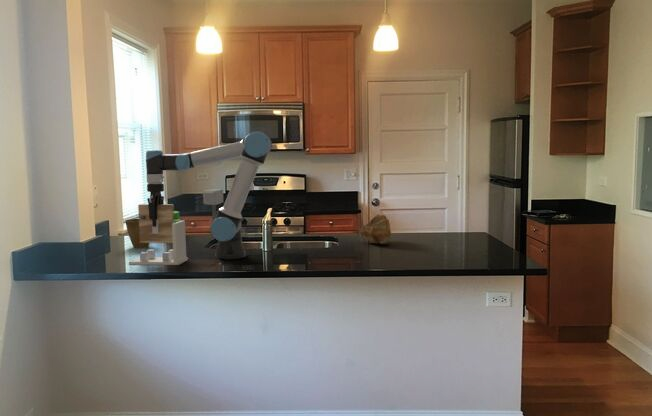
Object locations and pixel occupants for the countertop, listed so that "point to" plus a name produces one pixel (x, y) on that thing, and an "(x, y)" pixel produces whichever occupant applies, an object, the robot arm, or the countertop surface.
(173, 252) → the cabinet base
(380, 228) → the rough brown rock
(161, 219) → the maple door
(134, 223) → the plant pot
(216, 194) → the hammer
